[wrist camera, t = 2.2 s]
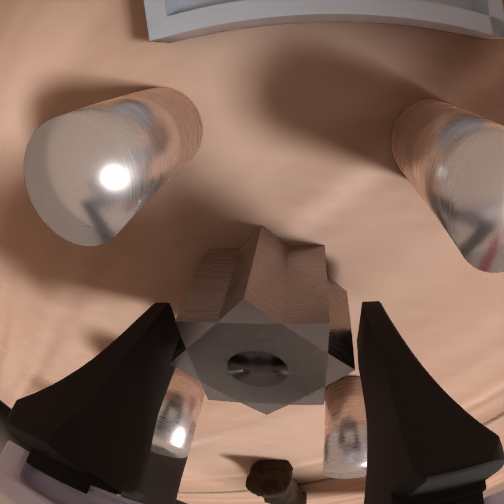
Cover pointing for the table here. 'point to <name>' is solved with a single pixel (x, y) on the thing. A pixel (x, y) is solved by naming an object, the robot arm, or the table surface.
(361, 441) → the cylinder
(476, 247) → the cylinder
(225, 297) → the nut
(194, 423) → the cylinder
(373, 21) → the tray
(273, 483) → the dark brown bar
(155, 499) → the battery charger
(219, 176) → the table surface
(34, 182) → the cylinder
